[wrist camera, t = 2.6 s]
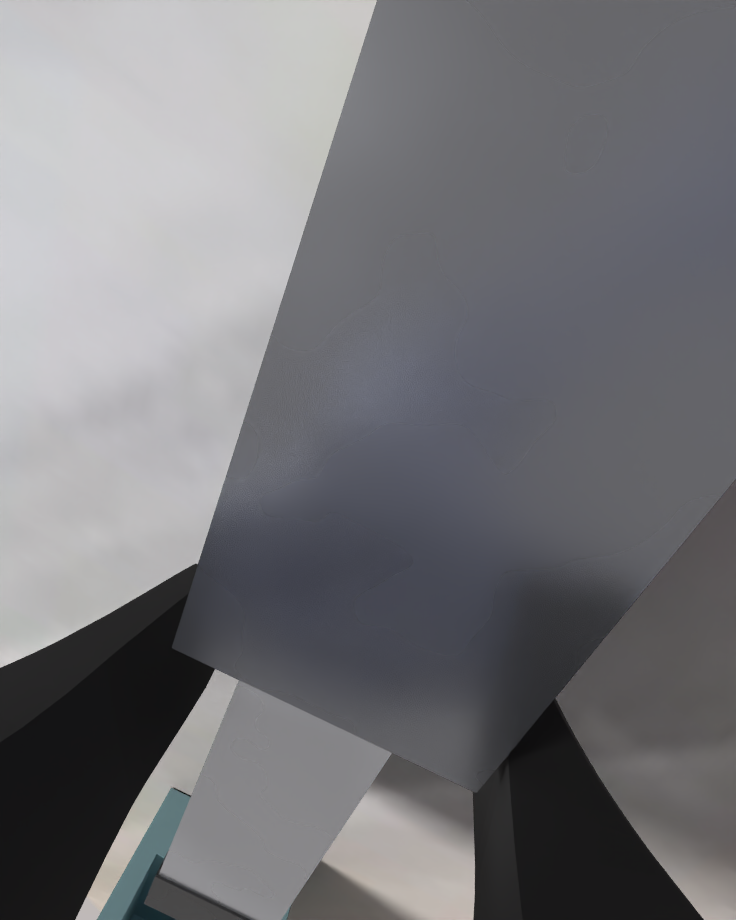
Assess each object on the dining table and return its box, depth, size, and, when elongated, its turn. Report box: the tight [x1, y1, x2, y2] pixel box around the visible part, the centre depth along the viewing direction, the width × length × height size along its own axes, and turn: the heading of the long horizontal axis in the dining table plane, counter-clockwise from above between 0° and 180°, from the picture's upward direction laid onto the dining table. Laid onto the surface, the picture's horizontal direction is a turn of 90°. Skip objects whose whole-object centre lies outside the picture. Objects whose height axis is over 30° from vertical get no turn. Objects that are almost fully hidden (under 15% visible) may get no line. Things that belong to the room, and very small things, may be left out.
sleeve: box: [172, 0, 736, 793], centre depth 8 cm, size 4×10×6 cm, turn 157°
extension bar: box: [144, 680, 392, 920], centre depth 9 cm, size 3×17×3 cm, turn 158°
